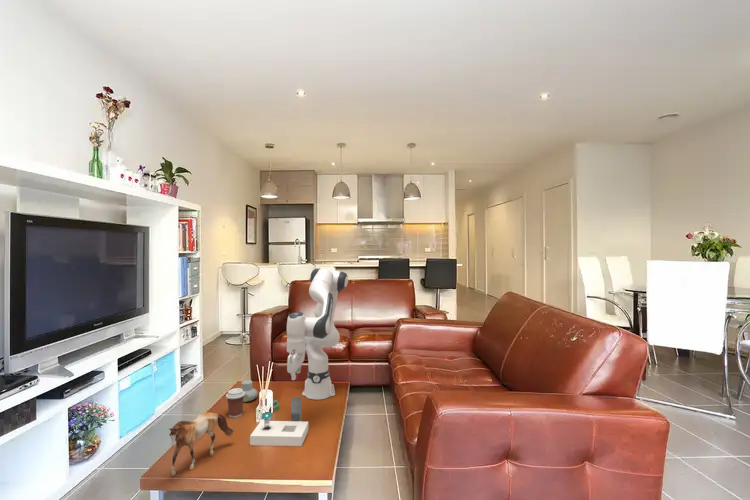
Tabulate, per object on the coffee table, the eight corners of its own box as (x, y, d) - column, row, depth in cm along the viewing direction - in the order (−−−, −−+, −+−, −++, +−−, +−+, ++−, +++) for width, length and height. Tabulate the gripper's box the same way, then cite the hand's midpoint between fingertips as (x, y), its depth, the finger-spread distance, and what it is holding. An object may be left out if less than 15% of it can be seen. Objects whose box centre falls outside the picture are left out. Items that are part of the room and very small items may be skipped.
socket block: (261, 429, 177) (261, 420, 177) (308, 430, 176) (308, 421, 176) (250, 445, 163) (250, 435, 163) (301, 446, 162) (301, 436, 162)
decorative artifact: (279, 412, 195) (278, 404, 205) (279, 399, 195) (278, 391, 205) (258, 415, 192) (259, 407, 202) (258, 401, 192) (259, 393, 202)
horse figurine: (173, 486, 136) (172, 428, 135) (157, 481, 139) (156, 424, 138) (235, 443, 165) (235, 396, 164) (221, 440, 168) (220, 393, 167)
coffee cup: (236, 419, 187) (236, 395, 187) (221, 416, 190) (221, 392, 190) (249, 412, 196) (249, 388, 195) (234, 409, 199) (234, 386, 199)
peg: (293, 421, 185) (293, 397, 185) (301, 421, 185) (301, 397, 184) (291, 425, 181) (291, 400, 181) (299, 425, 181) (299, 400, 180)
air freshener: (233, 402, 208) (233, 383, 208) (242, 396, 216) (242, 378, 216) (252, 403, 206) (251, 385, 206) (259, 397, 214) (259, 380, 214)
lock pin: (263, 426, 172) (263, 412, 172) (273, 426, 172) (273, 412, 172) (260, 431, 168) (260, 416, 168) (270, 431, 168) (270, 416, 168)
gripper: (297, 353, 172) (297, 384, 172) (307, 341, 192) (307, 369, 192) (283, 353, 172) (283, 384, 172) (294, 341, 192) (294, 369, 192)
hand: (296, 376), depth 182 cm, fingers open, 8 cm apart
